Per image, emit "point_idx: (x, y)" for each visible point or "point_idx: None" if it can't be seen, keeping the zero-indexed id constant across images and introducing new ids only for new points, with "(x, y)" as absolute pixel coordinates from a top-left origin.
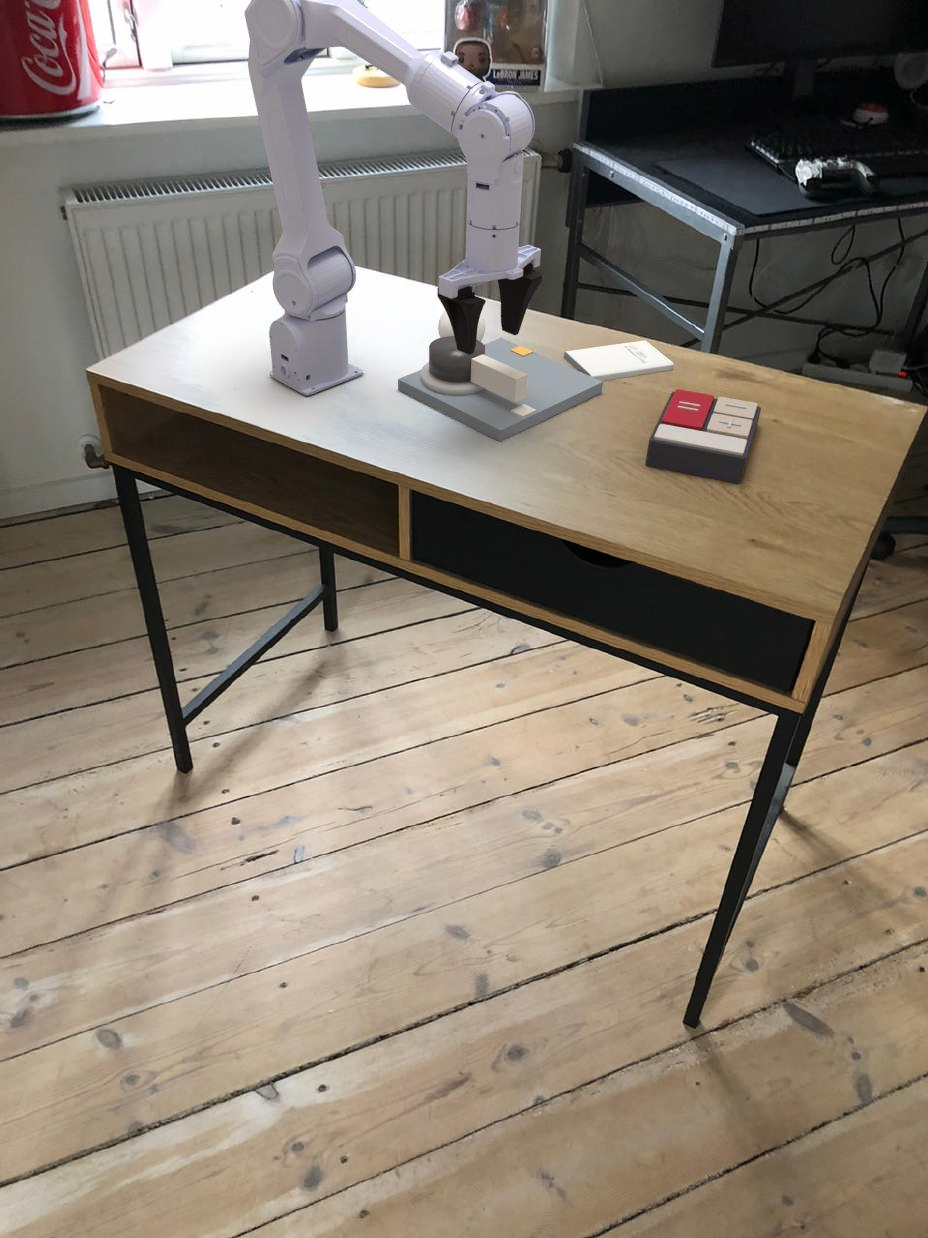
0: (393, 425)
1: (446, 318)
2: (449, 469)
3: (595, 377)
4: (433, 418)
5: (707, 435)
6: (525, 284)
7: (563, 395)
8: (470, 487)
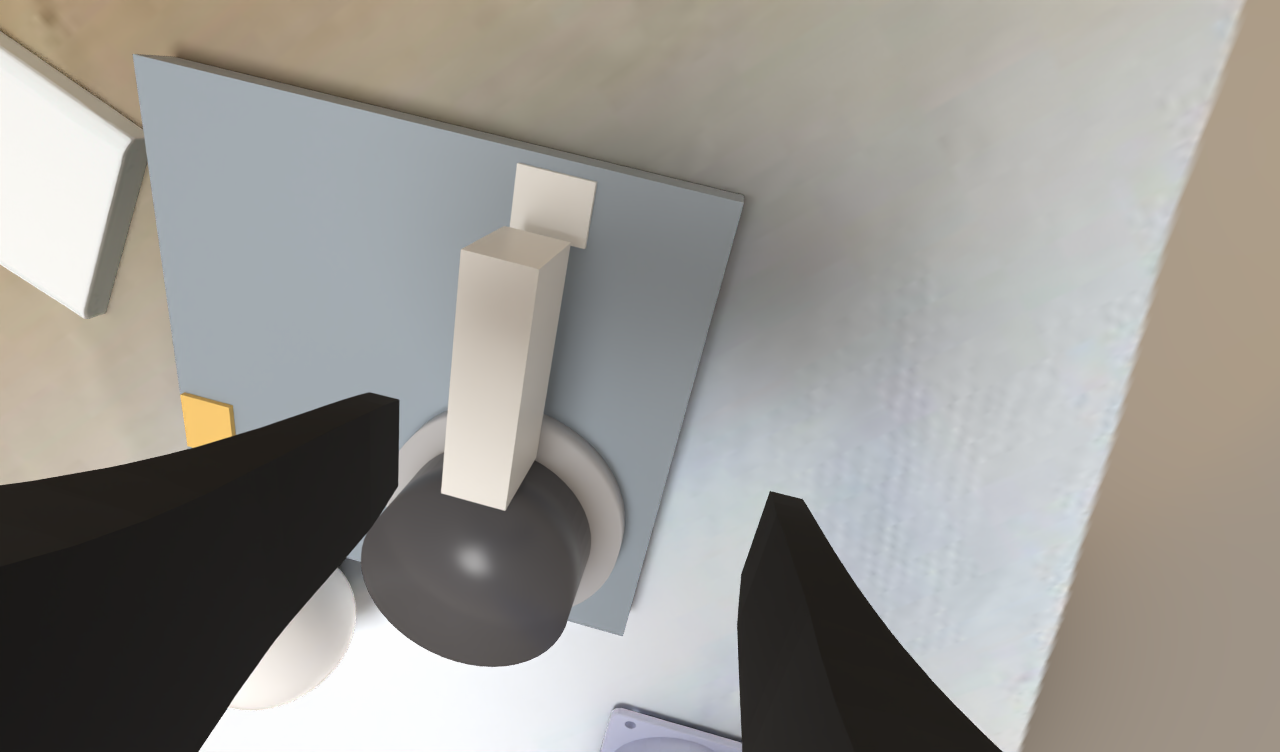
0: (829, 534)
1: (300, 686)
2: (1035, 248)
3: (120, 126)
4: (721, 460)
5: None
6: (17, 619)
7: (340, 135)
8: (1150, 101)
